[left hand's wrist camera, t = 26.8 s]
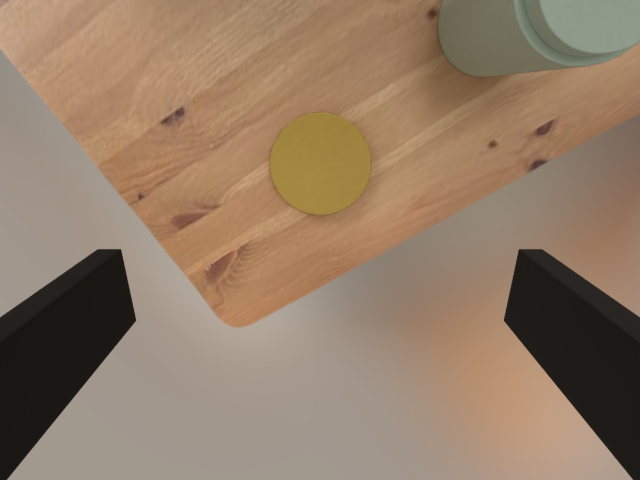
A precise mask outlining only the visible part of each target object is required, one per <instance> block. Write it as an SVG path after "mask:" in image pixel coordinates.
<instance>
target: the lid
mask: <svg viewBox="0 0 640 480" xmlns="http://www.w3.org/2000/svg"><path fill="white" fill-rule="evenodd" d="M270 171H271V176H272V180H273V183H274V185H275V187H276V189H277V191H278V192H279V194H280V195H281V196H282V197H283V199H284V200H285V201H287V202H288V203H289V204H290V205H291V206H293V207H295V208H296V209H298V210H300V211H303V212H306V213H309V214H315V215H326V214H332V213H336V212H338V211H341V210H343V209H345V208H347V207H348V206H350V205H351V204H352V203H354V202H355V201H356V200H357V199H358V198H359V197H360V195H361V194H362V193H363V191H364V189H365V188H366V185H367V183H368V181H369V178H370V173H371V155H370V150H369V147H368V144H367V142H366V140H365V138H364V137H363V135H362V134H361V132H360V131H359V130H358V129H357V128H356V127H355V126H354V125H353V124H352V123H351V122H349V121H348V120H346V119H345V118H343V117H341V116H338V115H335V114H332V113H326V112H315V113H309V114H306V115H303V116H301V117H298V118H297V119H295V120H293V121H292V122H291V123H290V124H288V125H287V126H286V127H285V128H284V129H283V130H282V131H281V133H280V134H279V136H278V137H277V139H276V141H275V143H274V145H273V148H272V152H271V156H270Z"/></svg>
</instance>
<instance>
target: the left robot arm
mask: <svg viewBox="0 0 640 480" xmlns="http://www.w3.org/2000/svg"><path fill="white" fill-rule="evenodd" d="M135 321H136V317H135V313H134V308H133V303H132V299H131V294H130V289H129V284H128V280H127V275H126V270H125V266H124V261H123V256H122V252H121V249H98V250H96V251H95V252H93V253H92V254H90V255H89V256H88V257H86V258H85V259H83V260H82V261H80V262H79V263H78V264H76V265H75V266H73V267H72V268H70V269H69V270H67V271H66V272H65V273H63V274H62V275H60V276H59V277H57V278H56V279H55V280H53V281H52V282H50V283H49V284H47V285H46V286H45V287H43V288H42V289H40V290H39V291H37V292H36V293H35V294H33V295H32V296H30V297H29V298H27V299H26V300H25V301H23V302H22V303H20V304H19V305H17V306H16V307H15V308H13V309H12V310H10V311H9V312H7V313H6V314H4V315H3V316H2V317H0V480H7V479H8V478H9V476H10V475H11V474H12V473H13V471H14V470H15V469H16V468H17V467H18V465H19V464H20V463H21V462H22V460H23V459H24V458H25V457H26V455H27V454H28V453H29V452H30V451H31V449H32V448H33V447H34V446H35V444H36V443H37V442H38V441H39V439H40V438H41V437H42V436H43V435H44V433H45V432H46V431H47V430H48V428H49V427H50V426H51V425H52V423H53V422H54V421H55V420H56V419H57V417H58V416H59V415H60V414H61V412H62V411H63V410H64V409H65V407H66V406H67V405H68V404H69V403H70V401H71V400H72V399H73V398H74V396H75V395H76V394H77V393H78V391H79V390H80V389H81V388H82V387H83V385H84V384H85V383H86V382H87V380H88V379H89V378H90V377H91V375H92V374H93V373H94V372H95V371H96V369H97V368H98V367H99V366H100V364H101V363H102V362H103V361H104V359H105V358H106V357H107V356H108V355H109V353H110V352H111V351H112V350H113V348H114V347H115V346H116V345H117V344H118V342H119V341H120V340H121V339H122V337H123V336H124V335H125V334H126V332H127V331H128V330H129V329H130V327H131V326H132V325H133V324H134V323H135ZM504 321H505V323H506V324H507V325H508V326H509V327H510V329H511V330H512V331H513V332H514V334H515V335H516V336H517V337H518V339H519V340H520V341H521V342H522V344H523V345H524V346H525V347H526V348H527V350H528V351H529V352H530V353H531V355H532V356H533V357H534V358H535V360H536V361H537V362H538V363H539V364H540V366H541V367H542V368H543V369H544V371H545V372H546V373H547V374H548V375H549V377H550V378H551V379H552V380H553V382H554V383H555V384H556V385H557V387H558V388H559V389H560V390H561V391H562V393H563V394H564V395H565V396H566V398H567V399H568V400H569V401H570V402H571V404H572V405H573V406H574V407H575V409H576V410H577V411H578V412H579V414H580V415H581V416H582V417H583V418H584V420H585V421H586V422H587V423H588V425H589V426H590V427H591V428H592V430H593V431H594V432H595V433H596V435H597V436H598V437H599V438H600V439H601V441H602V442H603V443H604V444H605V446H606V447H607V448H608V449H609V450H610V452H611V453H612V454H613V455H614V457H615V458H616V459H617V460H618V462H619V463H620V464H621V465H622V467H623V468H624V469H625V470H626V471H627V473H628V474H629V475H630V476H631V478H632V479H633V480H640V317H638V316H637V315H636V314H634V313H633V312H631V311H630V310H628V309H627V308H626V307H624V306H623V305H621V304H620V303H618V302H617V301H615V300H614V299H613V298H611V297H610V296H608V295H607V294H605V293H604V292H603V291H601V290H600V289H598V288H597V287H595V286H594V285H593V284H591V283H590V282H588V281H587V280H585V279H584V278H583V277H581V276H580V275H578V274H577V273H575V272H574V271H572V270H571V269H570V268H568V267H567V266H565V265H564V264H562V263H561V262H559V261H558V260H557V259H555V258H554V257H552V256H551V255H550V254H548V253H547V252H545V251H544V250H542V249H519V252H518V256H517V261H516V266H515V270H514V275H513V280H512V285H511V289H510V294H509V299H508V303H507V308H506V313H505V317H504Z"/></svg>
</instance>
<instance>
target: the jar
mask: <svg viewBox="0 0 640 480" xmlns="http://www.w3.org/2000/svg"><path fill="white" fill-rule="evenodd" d="M438 35H439V41H440V44H441V48H442V50H443V52H444V54H445V56H446V57H447V59H448V60H449V62H450V63H451V64H452V65H453V66H454V67H455V68H457V69H458V70H460V71H461V72H463V73H465V74H468V75H471V76H476V77H490V76H499V75H509V74H518V73H528V72H537V71H547V70H556V69H566V68H575V67H585V66H591V65H596V64H600V63H603V62H606V61H609V60H611V59H613V58H615V57H618V56H620V55H621V54H623V53H625V52H626V51H628V50H630V49H631V48H632V47H634V46H635V45H636V44H638V43H639V42H640V0H443V2H442V5H441V8H440V12H439V18H438Z"/></svg>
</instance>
